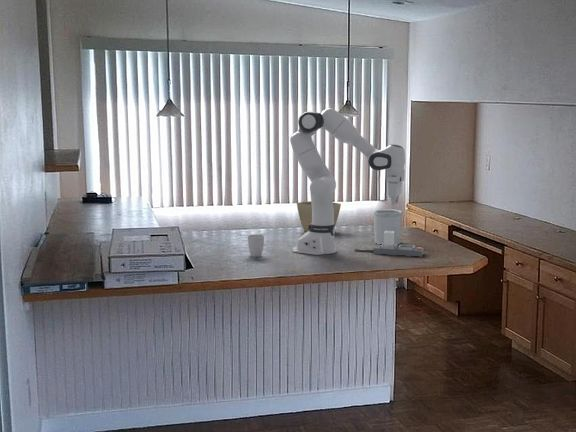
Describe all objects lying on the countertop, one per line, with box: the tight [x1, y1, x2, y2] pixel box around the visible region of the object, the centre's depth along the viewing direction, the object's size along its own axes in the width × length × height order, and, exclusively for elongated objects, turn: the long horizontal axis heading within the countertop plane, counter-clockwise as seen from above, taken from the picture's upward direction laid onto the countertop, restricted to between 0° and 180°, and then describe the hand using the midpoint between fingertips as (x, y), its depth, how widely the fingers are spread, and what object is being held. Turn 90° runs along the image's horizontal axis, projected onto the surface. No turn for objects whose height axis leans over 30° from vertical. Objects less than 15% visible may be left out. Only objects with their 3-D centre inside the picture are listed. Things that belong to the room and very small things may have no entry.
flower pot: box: [296, 200, 342, 232], centre depth 418 cm, size 19×19×17 cm
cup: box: [247, 234, 265, 258], centre depth 352 cm, size 8×8×10 cm
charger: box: [384, 231, 394, 247], centre depth 359 cm, size 4×4×8 cm
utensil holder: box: [373, 208, 402, 245], centre depth 384 cm, size 15×15×18 cm
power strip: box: [354, 243, 425, 258], centre depth 360 cm, size 35×8×4 cm, turn 73°
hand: (394, 204), depth 357 cm, fingers open, 8 cm apart
